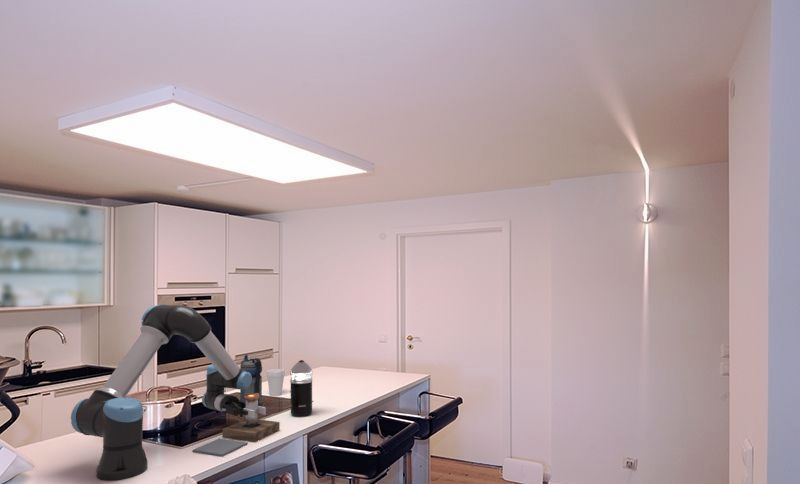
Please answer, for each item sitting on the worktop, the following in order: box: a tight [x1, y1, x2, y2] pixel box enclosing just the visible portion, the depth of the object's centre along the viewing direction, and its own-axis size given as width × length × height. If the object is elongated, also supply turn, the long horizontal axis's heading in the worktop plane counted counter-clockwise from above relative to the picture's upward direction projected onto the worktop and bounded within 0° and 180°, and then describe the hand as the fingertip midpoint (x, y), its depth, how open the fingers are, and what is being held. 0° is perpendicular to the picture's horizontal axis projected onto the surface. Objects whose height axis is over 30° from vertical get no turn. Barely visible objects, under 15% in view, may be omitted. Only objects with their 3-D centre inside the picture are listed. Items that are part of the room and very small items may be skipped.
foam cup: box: [266, 368, 285, 397], centre depth 279 cm, size 10×9×13 cm
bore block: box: [222, 418, 281, 443], centre depth 211 cm, size 16×16×4 cm
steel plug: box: [244, 393, 259, 428], centre depth 212 cm, size 6×6×16 cm
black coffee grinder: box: [289, 359, 313, 418], centre depth 240 cm, size 10×10×25 cm
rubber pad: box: [192, 437, 249, 458], centre depth 195 cm, size 14×14×1 cm
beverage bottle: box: [239, 354, 263, 405], centre depth 254 cm, size 10×13×25 cm
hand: (259, 412), depth 208 cm, fingers closed on steel plug, 5 cm apart
